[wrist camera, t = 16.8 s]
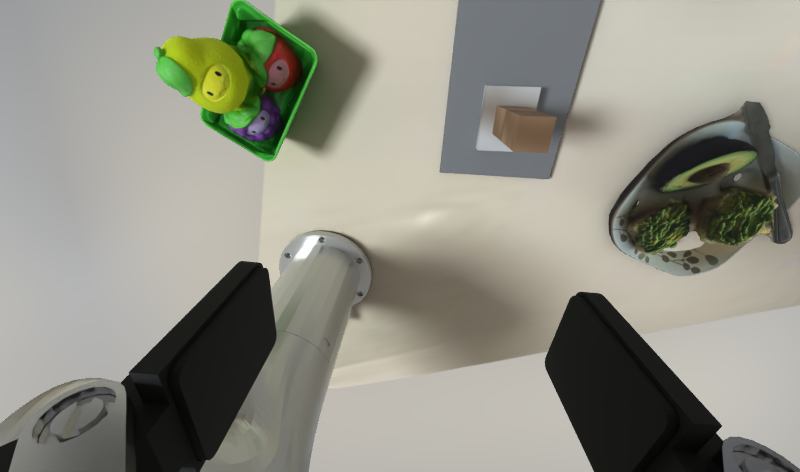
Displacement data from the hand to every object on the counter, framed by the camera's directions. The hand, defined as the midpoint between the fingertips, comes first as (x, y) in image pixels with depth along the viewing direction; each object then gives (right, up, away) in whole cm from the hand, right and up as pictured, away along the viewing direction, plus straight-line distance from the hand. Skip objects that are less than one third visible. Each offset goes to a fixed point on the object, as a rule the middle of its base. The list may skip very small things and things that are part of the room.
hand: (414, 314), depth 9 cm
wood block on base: (+10, +14, +21) cm, 28 cm away
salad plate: (+33, +7, +25) cm, 42 cm away
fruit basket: (-13, +18, +22) cm, 32 cm away
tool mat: (+10, +16, +21) cm, 28 cm away
